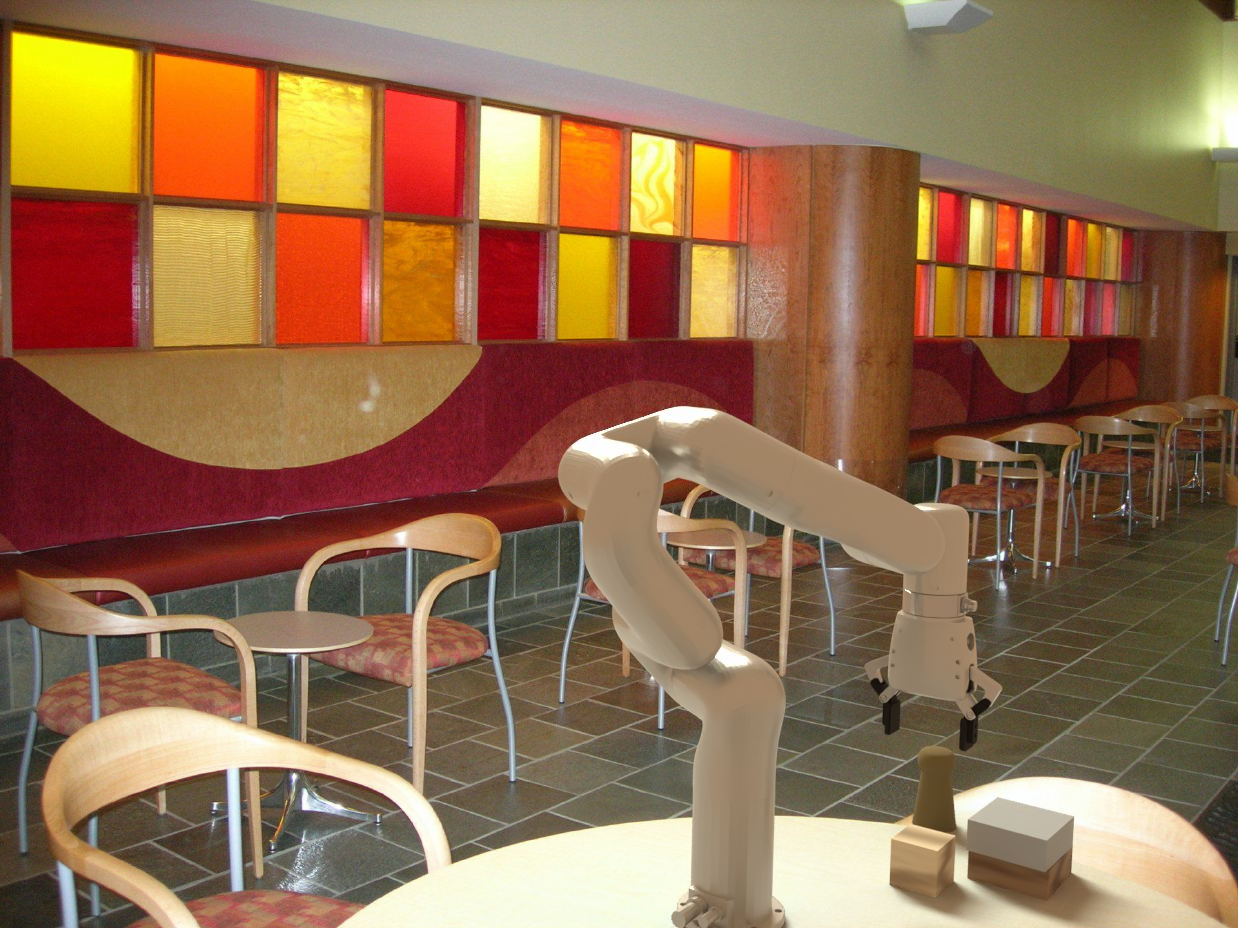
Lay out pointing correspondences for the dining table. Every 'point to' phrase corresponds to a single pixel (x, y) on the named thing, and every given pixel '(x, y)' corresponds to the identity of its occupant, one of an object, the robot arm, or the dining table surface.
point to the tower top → (1020, 834)
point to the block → (922, 860)
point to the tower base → (1019, 874)
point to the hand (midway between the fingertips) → (928, 739)
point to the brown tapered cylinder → (935, 790)
